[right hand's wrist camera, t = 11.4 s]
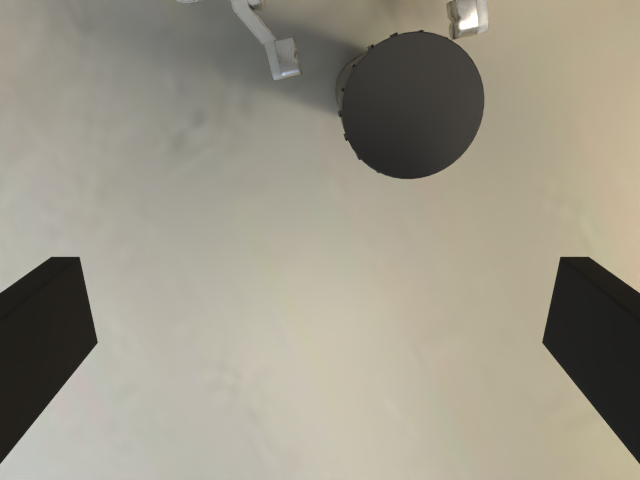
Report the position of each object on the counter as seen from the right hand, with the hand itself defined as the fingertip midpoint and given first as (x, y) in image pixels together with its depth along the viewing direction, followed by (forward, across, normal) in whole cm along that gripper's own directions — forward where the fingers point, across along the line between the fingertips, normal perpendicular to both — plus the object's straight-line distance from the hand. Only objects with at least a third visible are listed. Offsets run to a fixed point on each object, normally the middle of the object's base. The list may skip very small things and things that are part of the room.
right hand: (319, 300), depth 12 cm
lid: (+6, +3, +5) cm, 8 cm away
